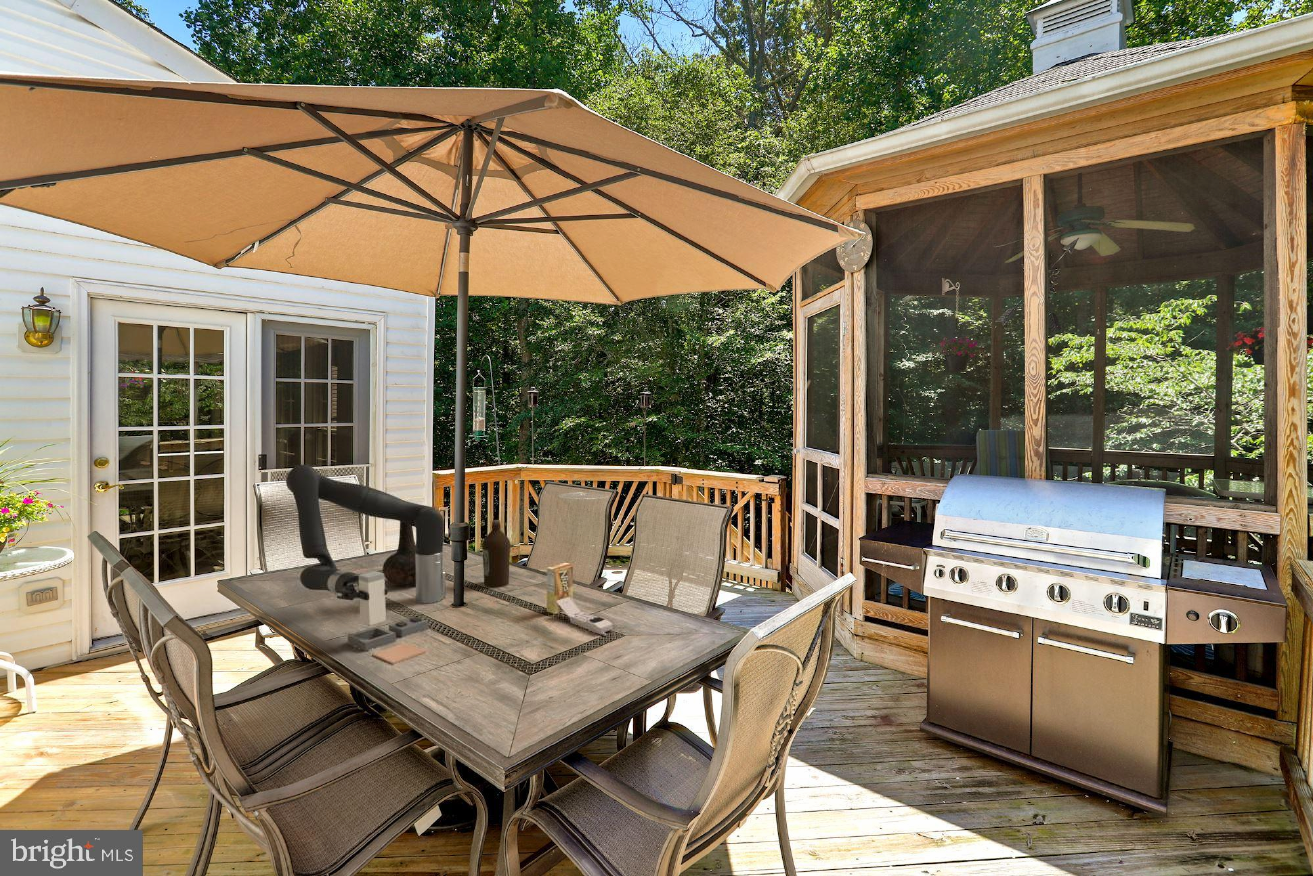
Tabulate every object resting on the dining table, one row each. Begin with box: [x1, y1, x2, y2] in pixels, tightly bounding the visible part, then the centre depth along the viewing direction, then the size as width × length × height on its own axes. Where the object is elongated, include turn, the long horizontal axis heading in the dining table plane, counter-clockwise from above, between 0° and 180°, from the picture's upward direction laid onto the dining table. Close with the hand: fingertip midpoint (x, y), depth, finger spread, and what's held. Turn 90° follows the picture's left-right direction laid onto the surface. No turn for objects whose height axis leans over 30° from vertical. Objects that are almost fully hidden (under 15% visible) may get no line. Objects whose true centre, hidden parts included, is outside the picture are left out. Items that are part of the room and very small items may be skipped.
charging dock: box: [347, 616, 429, 652], centre depth 188 cm, size 21×9×3 cm, turn 145°
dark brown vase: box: [382, 521, 416, 587], centre depth 242 cm, size 18×18×28 cm
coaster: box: [372, 642, 427, 665], centre depth 175 cm, size 10×10×1 cm
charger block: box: [359, 570, 387, 626], centre depth 182 cm, size 5×5×14 cm
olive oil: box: [481, 519, 511, 588], centre depth 242 cm, size 11×11×25 cm
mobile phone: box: [557, 597, 613, 637], centre depth 199 cm, size 6×6×25 cm
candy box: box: [546, 562, 574, 615], centre depth 213 cm, size 9×4×15 cm, turn 145°
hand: (377, 594), depth 181 cm, fingers closed on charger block, 5 cm apart
